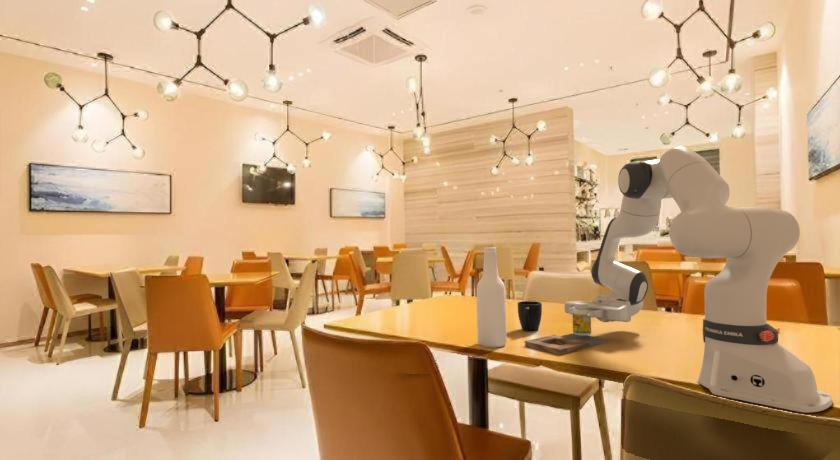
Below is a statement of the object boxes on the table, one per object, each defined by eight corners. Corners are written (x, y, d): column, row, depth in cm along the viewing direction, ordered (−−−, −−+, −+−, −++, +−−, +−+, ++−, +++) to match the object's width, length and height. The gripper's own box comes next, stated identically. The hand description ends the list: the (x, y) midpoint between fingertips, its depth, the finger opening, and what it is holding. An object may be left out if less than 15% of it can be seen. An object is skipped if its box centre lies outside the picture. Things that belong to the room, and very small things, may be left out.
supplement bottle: (594, 335, 140) (594, 304, 140) (580, 336, 139) (579, 305, 139) (583, 331, 145) (583, 301, 145) (569, 332, 144) (568, 302, 144)
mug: (513, 333, 154) (512, 305, 154) (520, 326, 165) (520, 300, 165) (538, 335, 150) (537, 306, 150) (544, 328, 161) (543, 301, 161)
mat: (607, 342, 140) (607, 339, 140) (589, 346, 134) (589, 344, 134) (575, 335, 149) (574, 332, 149) (557, 339, 144) (556, 336, 144)
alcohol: (476, 347, 136) (473, 248, 137) (479, 340, 145) (477, 246, 145) (505, 348, 134) (503, 247, 134) (507, 341, 143) (505, 246, 143)
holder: (589, 347, 134) (589, 342, 134) (560, 355, 126) (560, 349, 126) (553, 339, 144) (553, 334, 144) (525, 346, 137) (525, 341, 137)
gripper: (579, 295, 158) (552, 299, 150) (635, 302, 141) (608, 307, 133) (579, 313, 158) (553, 318, 150) (635, 322, 141) (609, 328, 133)
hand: (579, 313), depth 142 cm, fingers closed on supplement bottle, 5 cm apart
